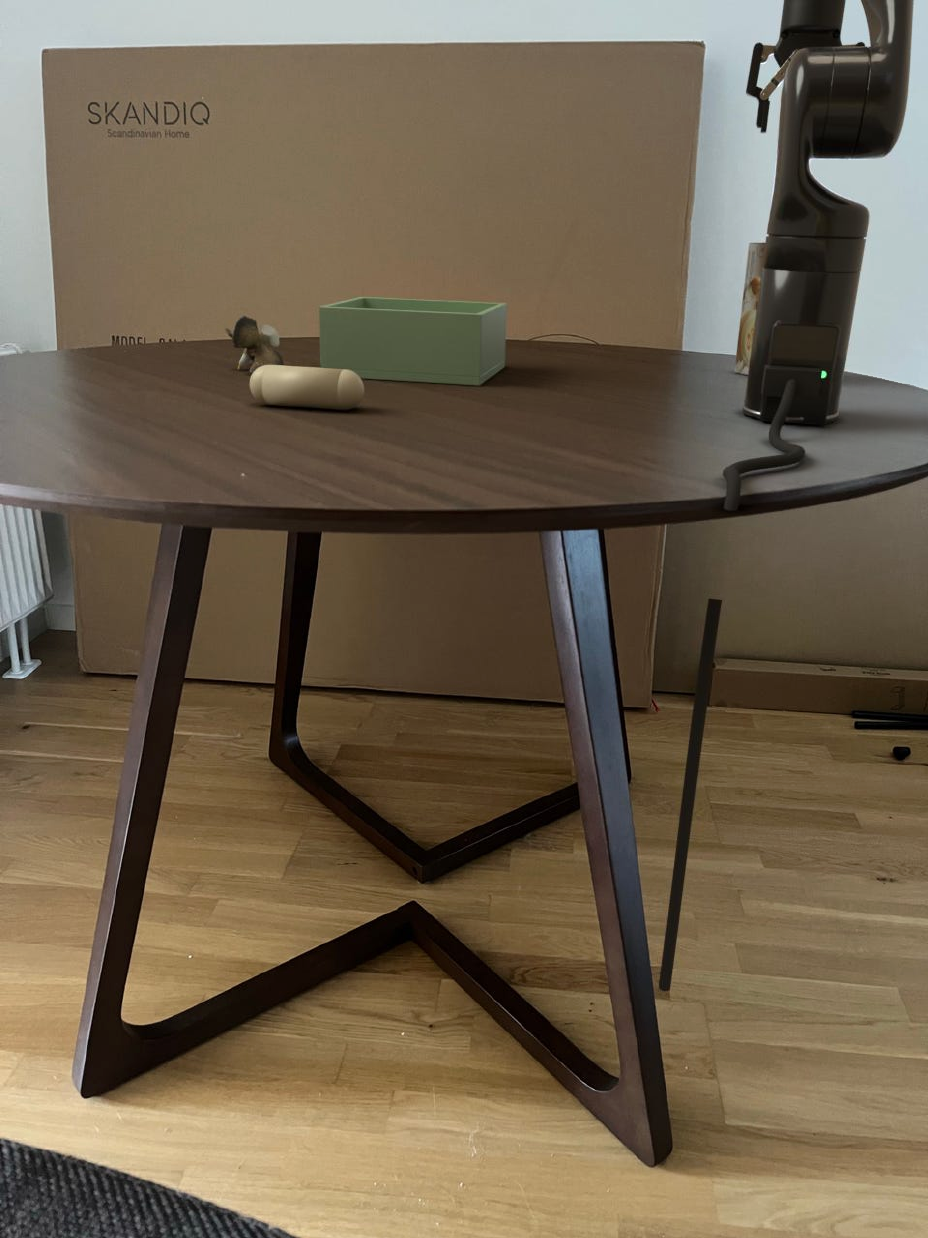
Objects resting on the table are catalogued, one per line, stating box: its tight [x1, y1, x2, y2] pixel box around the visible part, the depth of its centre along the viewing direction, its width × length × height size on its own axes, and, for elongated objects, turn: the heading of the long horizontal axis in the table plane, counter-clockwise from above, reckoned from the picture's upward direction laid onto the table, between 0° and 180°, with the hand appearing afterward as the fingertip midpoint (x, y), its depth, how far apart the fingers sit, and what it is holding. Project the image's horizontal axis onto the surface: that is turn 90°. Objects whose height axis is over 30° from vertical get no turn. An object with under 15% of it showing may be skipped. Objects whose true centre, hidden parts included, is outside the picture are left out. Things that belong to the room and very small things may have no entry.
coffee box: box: [733, 242, 765, 376], centre depth 124 cm, size 9×6×16 cm
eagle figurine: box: [224, 315, 285, 374], centre depth 122 cm, size 8×7×9 cm
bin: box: [318, 296, 508, 387], centre depth 123 cm, size 16×20×8 cm
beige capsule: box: [249, 364, 365, 411], centre depth 100 cm, size 4×12×4 cm, turn 77°
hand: (796, 133), depth 132 cm, fingers open, 8 cm apart
